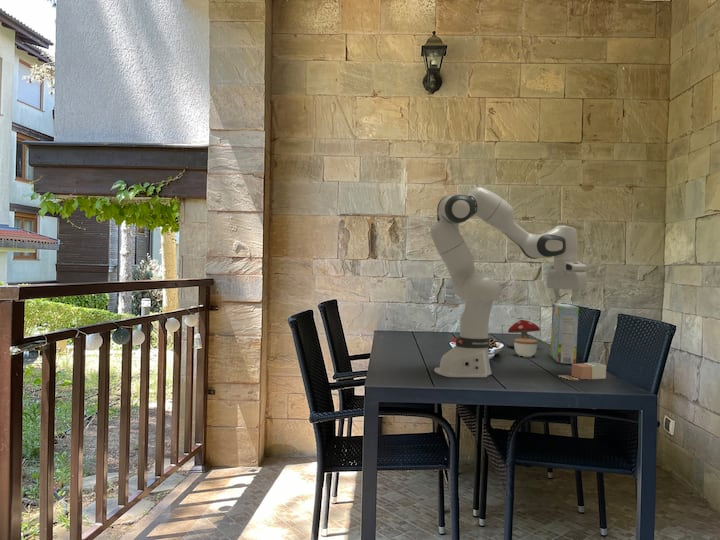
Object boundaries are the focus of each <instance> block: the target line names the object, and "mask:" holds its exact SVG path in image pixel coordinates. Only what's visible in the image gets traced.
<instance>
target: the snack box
mask: <svg viewBox="0 0 720 540" xmlns="http://www.w3.org/2000/svg"><path fill="white" fill-rule="evenodd" d="M579 308H580V307H579V306H576V305H572V304H568V303H552V312H551V333H550V335H551V336H550V357H551V358H552V359H553V360H554V361H555V362H556V363H557V364H564V365H566V364H567V365H572V364H577V347H578V345H577V344H578V327H579V311H580V309H579Z"/></svg>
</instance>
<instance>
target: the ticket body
mask: <svg viewBox="0 0 720 540" xmlns="http://www.w3.org/2000/svg"><path fill="white" fill-rule="evenodd" d="M580 364H584V365H587V366H591V379H590V380H601V379H603V380H605V379H606V378H607V365H605V364H601V363H599V362H582V363H580Z"/></svg>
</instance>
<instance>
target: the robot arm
mask: <svg viewBox="0 0 720 540" xmlns="http://www.w3.org/2000/svg"><path fill="white" fill-rule="evenodd" d="M436 209H437V210H436V213H437V215H436V216H437V218H436V219H437V222H436V223H434V224H433V226H432V227H431V229H430V235H431V239H432V241H433V245H434V246H435V248H436V251H437V252H438V254H439V256H440V258H441V259H442V261H443V263H444V264H445V266H446V269H447V270H448V272H449V275H450V277H451V281H452V284H453V292H454V293H455V295H456V296H457V297H458V298H460V299H461V300H463V301H465V305H464V307H463V308H464V309H463V312H462V314H461V316H460V320H459V321H460V325H459V336H458V337H454V336H451V338H450V341H451V342H452V343H455V346H453V347H452V348H451V349H450V350H448V351H447V352H446V353H444V354H443V355H442V357H441V359H440V362H439V367H435V368H434V369H433V371H434V372H435V374H437V375H439V376H443V377H446V378H487V377H488V376H490V375H492V374H493V373H492V370H491V366H490V357H489V356H490V355H489V350H490V337H489V327H490V326H489V323H490V315H491V310H492V308H493V304H494V301H495V300H496V299H497V297H498V296H499V291H500V289H499V284H498V283H497V281H495V279H493V278H492V277H490V276H488V275H485V274H484V275H483V274H479V272H477V270H476V267H475V263H474V256H473V254H472V251H471V250H470V248H469V246H468V244H467V243H466V241H465V239H464V237H463V236H462V234H461V232H460V229H459V227H460V226H459V224H462V223H464V222H466V221H468V220H469V219H470V218H471V217H473V216H476V217H478V218H479V219H480V220H482V221H483V222H484V223H486V224H488V225H490V226H491V227H493V228H494V229H496V230H497V231H499V232H501V233H502V234H504V235H505V236H506V237H508V239H510V240H511V241H512V242H513V243H514V244H516V245H517V246H518V247H519V248H520V250H521V251H522V253H523V254H524V256H525V257H526V258H529V259H532V260H536V259H546V258H552V257H553V265H551V266H550V267H549V268H548V271H547V276H546V287H547V289H552V292H553V295H554V299H555V300H556V301H560V300H561V299H562V295H561V294H560V291H561V290H570V291H572V296H571V297H570V301H571V302H573V303H575V302H577V301H578V296H579V294H580V291H585V290H587V288H588V274H587V272H586V271H587V270H588V266H587V264H585V263H582V262H580V261H579V257H578V248H579V241H578V240H579V239H578V238H579V237H578V232H577V229H576V228H575V227H574V226H572V225H567V224H559V225H558V224H557V225H556V226H555V227H554V228H552V229H551V230H549V231H547V232H543V233H541V234H540V233H539V234H534V233H530V232H528V231H527V230H526V229H524V228H522V227H521V226H520V225H519V224H517V223H516V222H515V220H514V215H515V213H514V208H513V207H512V205H511V204H509V202H507V201H506V200H505V198H503V197H501V196H499V195H498V194H496V193H495V192H493V191H491V190H489V189H487V188H484V187H483V186H477V187H474V188H472V189H471V190H470V191H469V193H468V194H454V193H453V194H449V195H446V196H444V197H442V198H441V199H440V201H439V202H438V205H437V208H436Z"/></svg>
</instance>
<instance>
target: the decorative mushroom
mask: <svg viewBox="0 0 720 540" xmlns="http://www.w3.org/2000/svg"><path fill="white" fill-rule="evenodd" d="M539 331H541V328H540V327H539V326H538V325H537V324H535V323H534V322H532V321H530V320H526V319H520V320H518V321H516V322H515V323H513V324H512V325H511V326H510V327H509V328H508V331H507V333H509V334H518V333H519V334H521V339H525V337H527V339H530V337H529V334H528V332H529V333H530V332H531V333H532V332H539Z"/></svg>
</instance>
